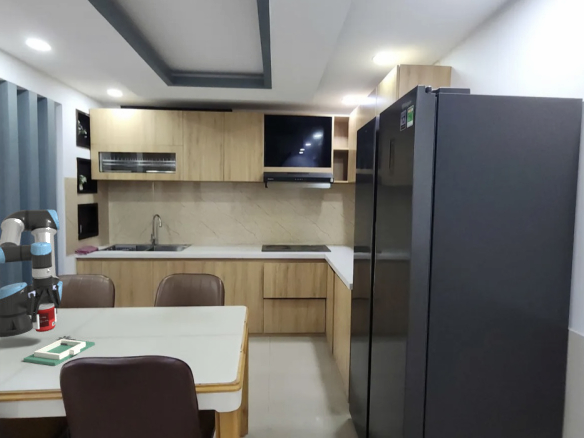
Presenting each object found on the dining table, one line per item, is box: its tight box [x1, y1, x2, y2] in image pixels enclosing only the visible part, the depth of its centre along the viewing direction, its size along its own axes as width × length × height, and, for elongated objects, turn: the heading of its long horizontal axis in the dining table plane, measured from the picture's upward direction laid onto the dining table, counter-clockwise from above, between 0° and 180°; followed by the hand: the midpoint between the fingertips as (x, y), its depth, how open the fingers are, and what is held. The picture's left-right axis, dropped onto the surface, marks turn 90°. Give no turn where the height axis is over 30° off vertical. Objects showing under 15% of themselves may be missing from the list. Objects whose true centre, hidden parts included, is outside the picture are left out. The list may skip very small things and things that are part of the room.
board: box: [23, 337, 96, 367], centre depth 149 cm, size 18×20×3 cm
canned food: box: [34, 303, 56, 333], centre depth 158 cm, size 8×8×11 cm
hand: (45, 325), depth 158 cm, fingers closed on canned food, 8 cm apart
